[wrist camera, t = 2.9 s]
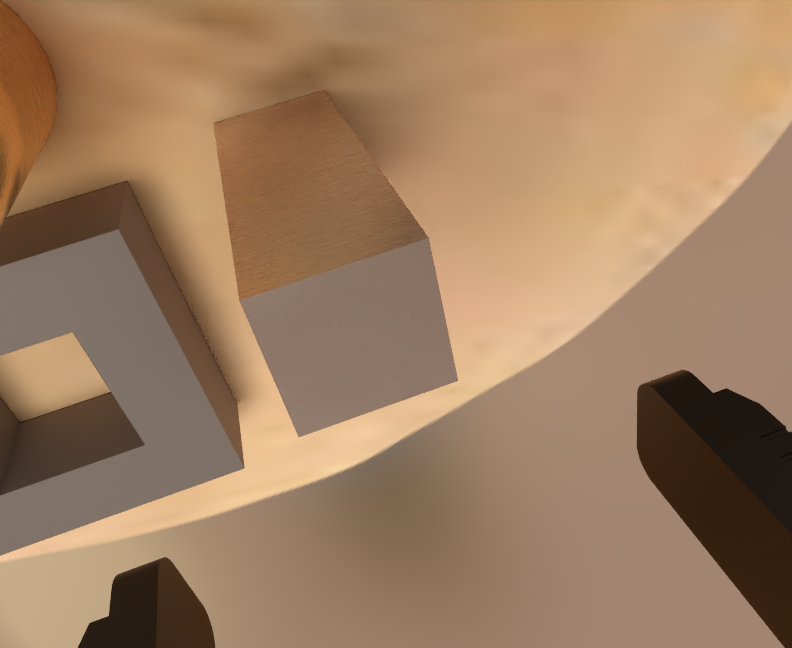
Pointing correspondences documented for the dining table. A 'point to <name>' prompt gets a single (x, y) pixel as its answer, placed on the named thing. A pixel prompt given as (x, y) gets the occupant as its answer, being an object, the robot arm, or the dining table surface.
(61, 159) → the dining table surface
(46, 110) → the round bit
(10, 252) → the socket block
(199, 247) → the dining table surface
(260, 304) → the square bit
